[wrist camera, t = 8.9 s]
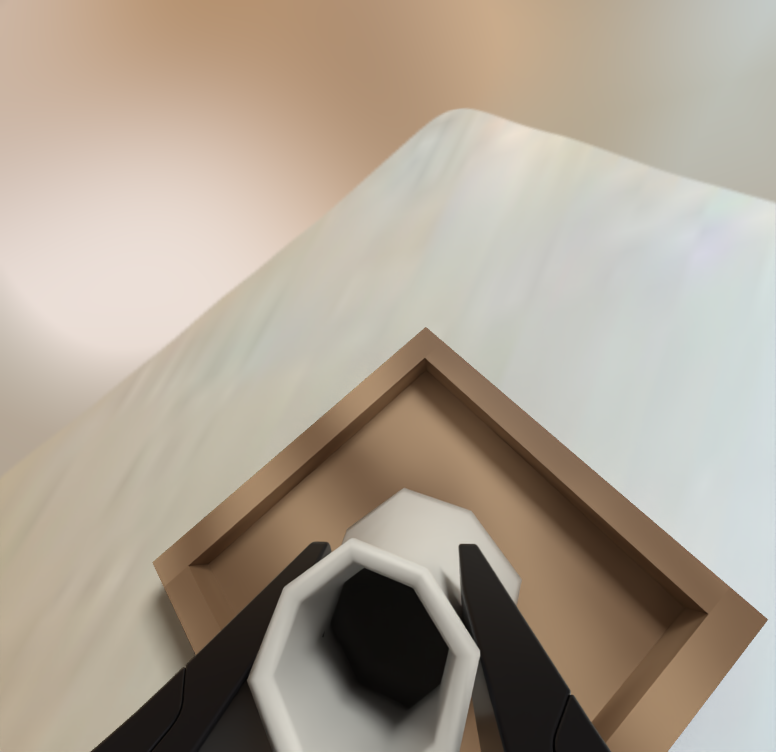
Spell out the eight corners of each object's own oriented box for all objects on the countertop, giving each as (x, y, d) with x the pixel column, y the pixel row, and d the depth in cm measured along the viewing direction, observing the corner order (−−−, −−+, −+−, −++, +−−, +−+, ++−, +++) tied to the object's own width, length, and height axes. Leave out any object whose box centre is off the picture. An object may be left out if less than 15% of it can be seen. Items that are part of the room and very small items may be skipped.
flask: (443, 773, 12) (415, 1447, 3) (290, 607, 15) (33, 705, 6) (555, 574, 14) (748, 625, 5) (400, 458, 16) (336, 352, 7)
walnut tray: (411, 1002, 11) (403, 1099, 9) (185, 560, 18) (152, 562, 16) (723, 609, 14) (768, 619, 12) (428, 348, 20) (425, 327, 18)
